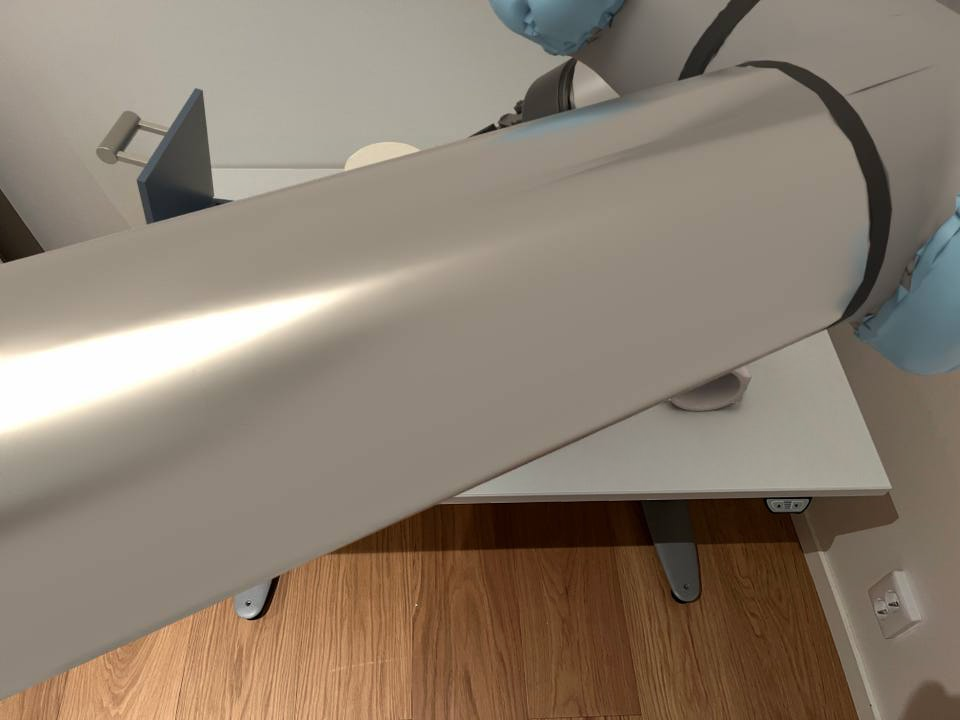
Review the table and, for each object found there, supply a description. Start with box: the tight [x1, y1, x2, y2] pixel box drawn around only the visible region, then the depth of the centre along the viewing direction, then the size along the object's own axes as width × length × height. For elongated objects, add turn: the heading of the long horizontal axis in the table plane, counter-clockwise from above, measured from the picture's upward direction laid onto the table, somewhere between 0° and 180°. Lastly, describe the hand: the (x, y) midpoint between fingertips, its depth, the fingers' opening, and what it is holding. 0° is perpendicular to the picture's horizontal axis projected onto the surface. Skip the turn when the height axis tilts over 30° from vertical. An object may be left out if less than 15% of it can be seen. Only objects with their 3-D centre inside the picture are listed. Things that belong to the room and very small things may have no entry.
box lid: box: [95, 87, 215, 225], centre depth 72 cm, size 15×15×7 cm
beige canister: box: [343, 141, 422, 172], centre depth 58 cm, size 7×7×10 cm
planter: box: [670, 365, 752, 412], centre depth 86 cm, size 8×9×26 cm
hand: (407, 210), depth 56 cm, fingers open, 13 cm apart
